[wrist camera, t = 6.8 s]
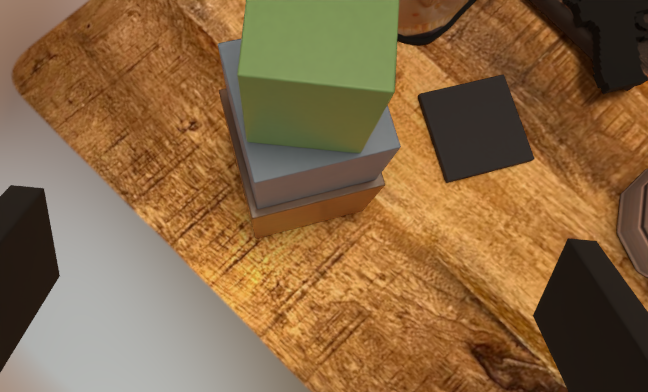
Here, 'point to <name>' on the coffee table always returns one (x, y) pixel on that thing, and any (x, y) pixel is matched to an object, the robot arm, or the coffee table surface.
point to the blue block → (303, 153)
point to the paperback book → (583, 29)
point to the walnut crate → (300, 209)
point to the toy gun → (613, 39)
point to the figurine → (428, 19)
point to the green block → (317, 71)
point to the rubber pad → (475, 128)
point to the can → (635, 222)
